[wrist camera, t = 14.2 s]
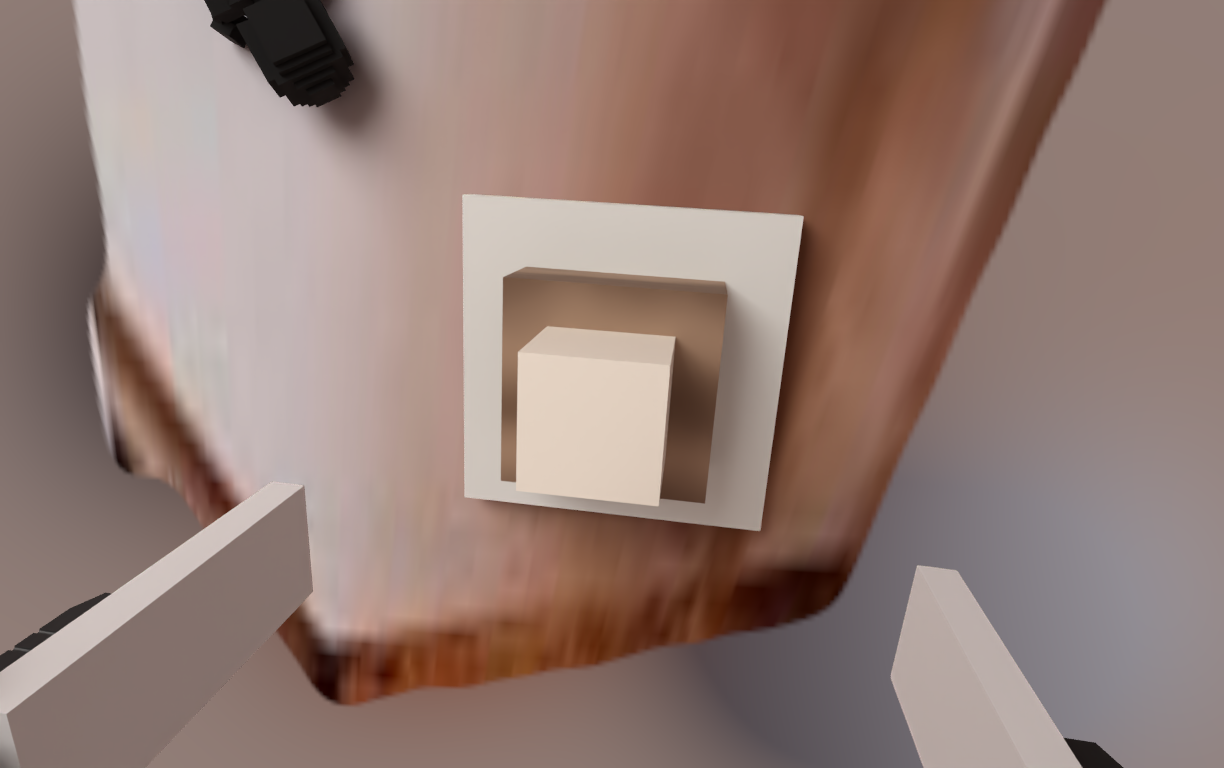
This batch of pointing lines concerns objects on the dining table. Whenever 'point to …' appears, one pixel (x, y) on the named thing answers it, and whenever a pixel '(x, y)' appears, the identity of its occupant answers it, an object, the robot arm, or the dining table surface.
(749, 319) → the plinth
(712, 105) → the dining table surface
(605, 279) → the walnut brick
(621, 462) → the cream brick
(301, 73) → the toy
